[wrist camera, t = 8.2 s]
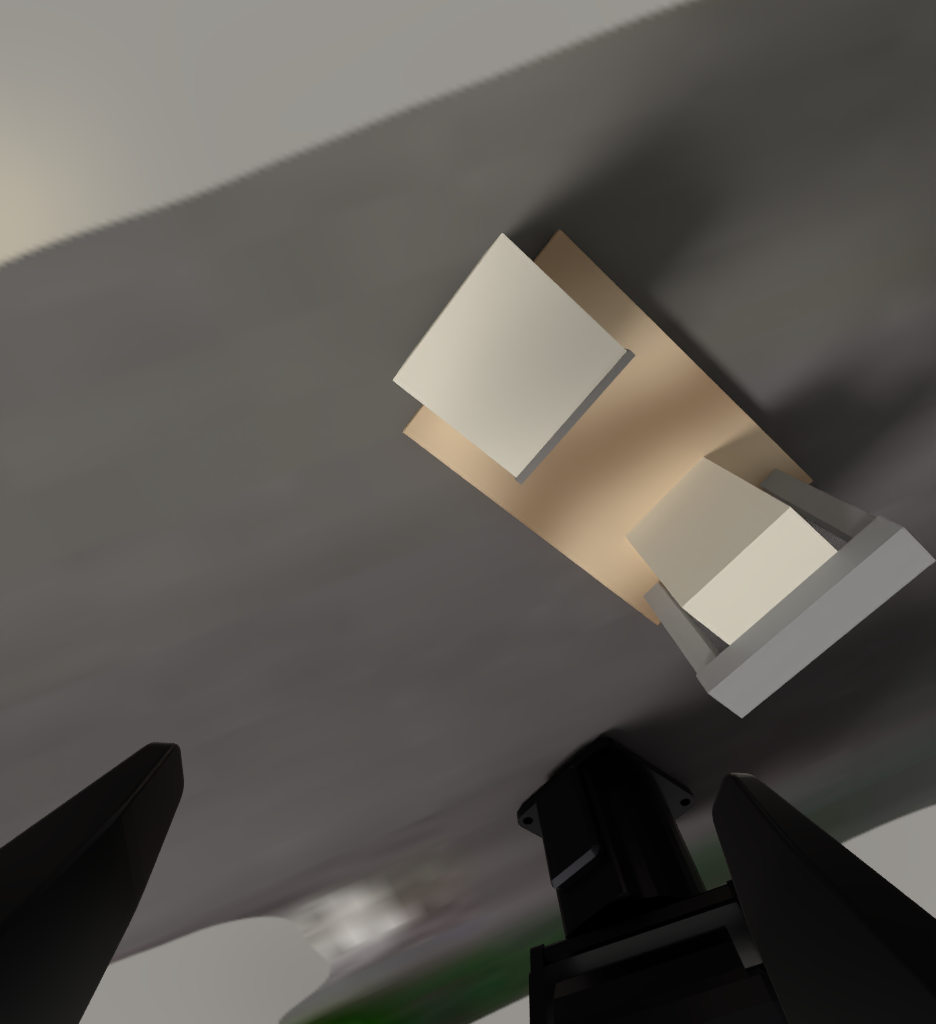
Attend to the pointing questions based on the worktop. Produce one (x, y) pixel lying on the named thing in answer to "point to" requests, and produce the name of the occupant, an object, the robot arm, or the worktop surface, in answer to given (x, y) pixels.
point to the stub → (512, 361)
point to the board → (616, 440)
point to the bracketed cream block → (765, 575)
